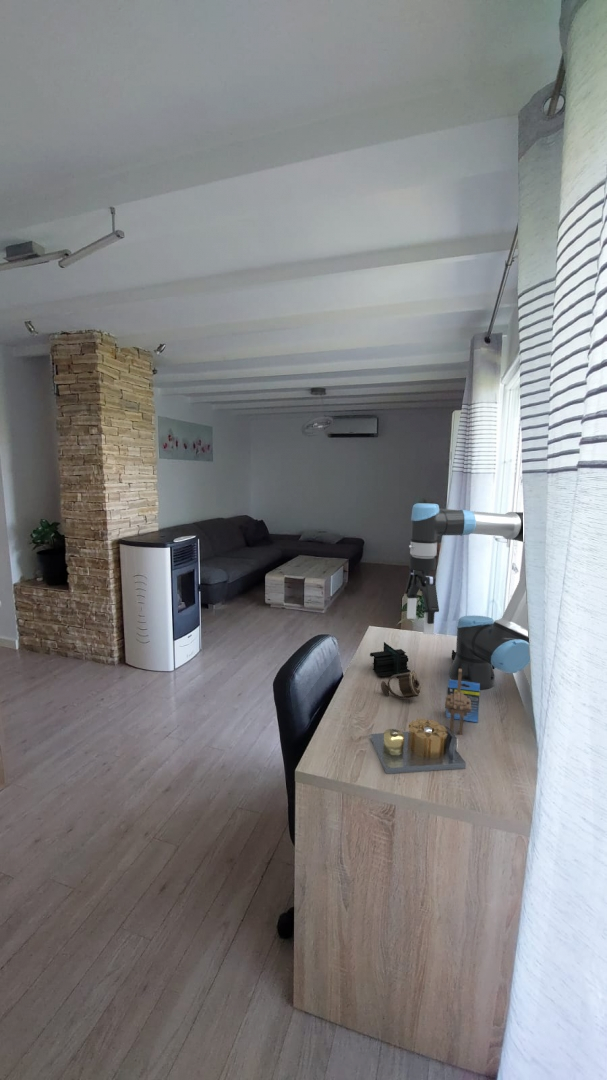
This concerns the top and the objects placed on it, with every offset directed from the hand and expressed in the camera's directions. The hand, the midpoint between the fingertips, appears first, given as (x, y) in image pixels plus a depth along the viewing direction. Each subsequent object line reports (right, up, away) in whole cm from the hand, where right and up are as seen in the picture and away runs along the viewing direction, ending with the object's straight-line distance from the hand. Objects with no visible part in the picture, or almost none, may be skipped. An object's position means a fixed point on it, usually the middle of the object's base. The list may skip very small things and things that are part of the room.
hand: (419, 625), depth 128 cm
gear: (-3, -28, -18) cm, 33 cm away
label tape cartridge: (+12, -28, -1) cm, 30 cm away
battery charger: (+31, -23, +37) cm, 53 cm away
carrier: (-6, -29, -18) cm, 35 cm away
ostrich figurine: (+6, -30, -13) cm, 33 cm away
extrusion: (-3, -23, +28) cm, 36 cm away
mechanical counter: (-4, -26, +8) cm, 28 cm away
